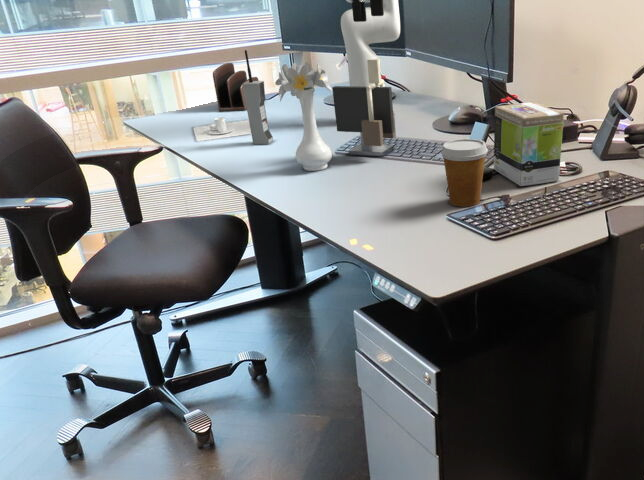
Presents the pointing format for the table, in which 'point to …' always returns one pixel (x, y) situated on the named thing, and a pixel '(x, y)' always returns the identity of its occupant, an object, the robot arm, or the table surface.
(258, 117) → the vintage mobile phone
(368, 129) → the headphones
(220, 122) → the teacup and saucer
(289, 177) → the table surface
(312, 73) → the flower vase
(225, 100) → the letter holder
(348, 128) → the monitor
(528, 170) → the tea box
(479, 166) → the disposable coffee cup
